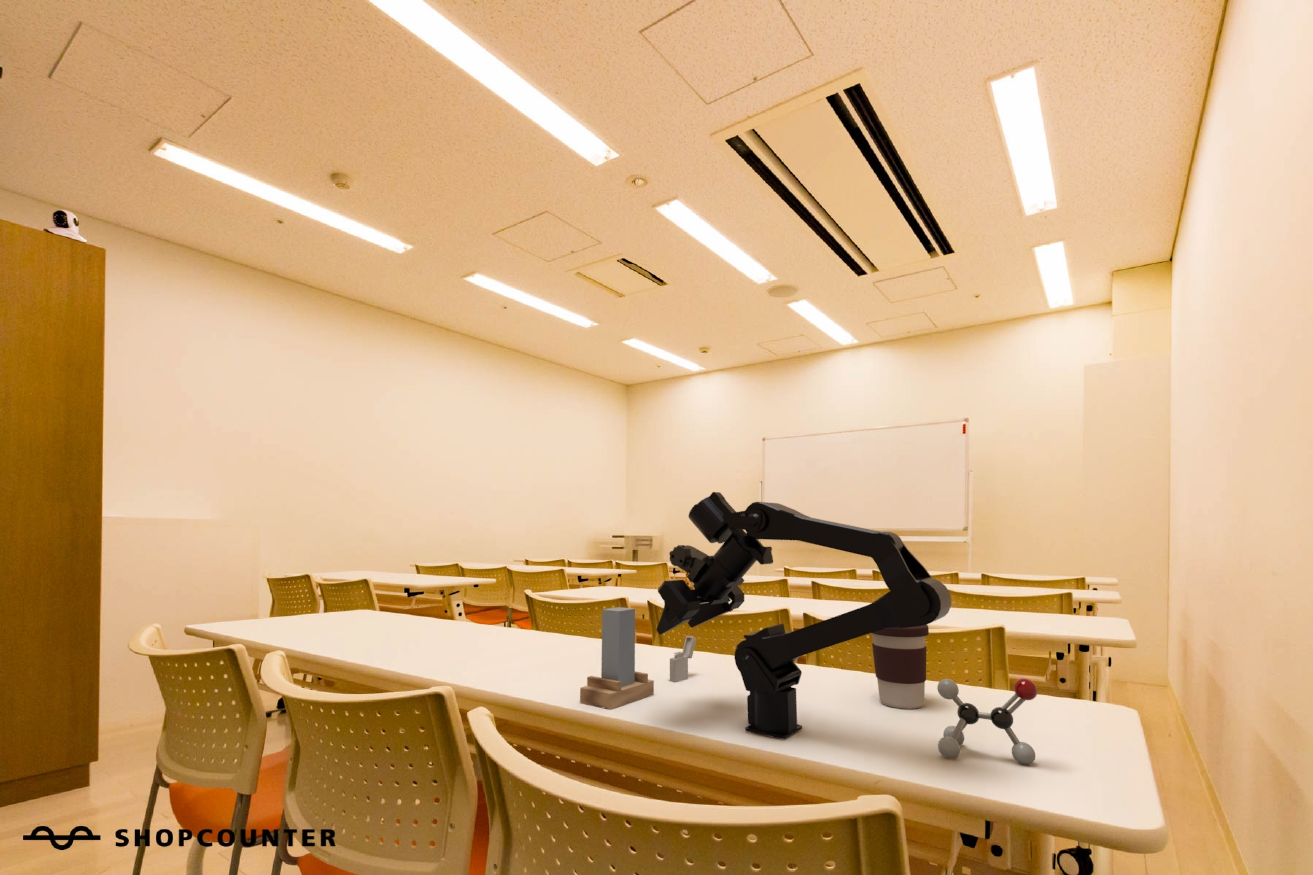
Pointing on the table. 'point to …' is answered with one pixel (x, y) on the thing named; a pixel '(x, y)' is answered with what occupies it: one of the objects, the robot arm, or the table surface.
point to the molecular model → (998, 716)
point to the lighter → (682, 661)
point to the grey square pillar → (618, 645)
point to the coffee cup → (901, 666)
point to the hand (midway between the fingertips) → (674, 628)
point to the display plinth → (615, 691)
